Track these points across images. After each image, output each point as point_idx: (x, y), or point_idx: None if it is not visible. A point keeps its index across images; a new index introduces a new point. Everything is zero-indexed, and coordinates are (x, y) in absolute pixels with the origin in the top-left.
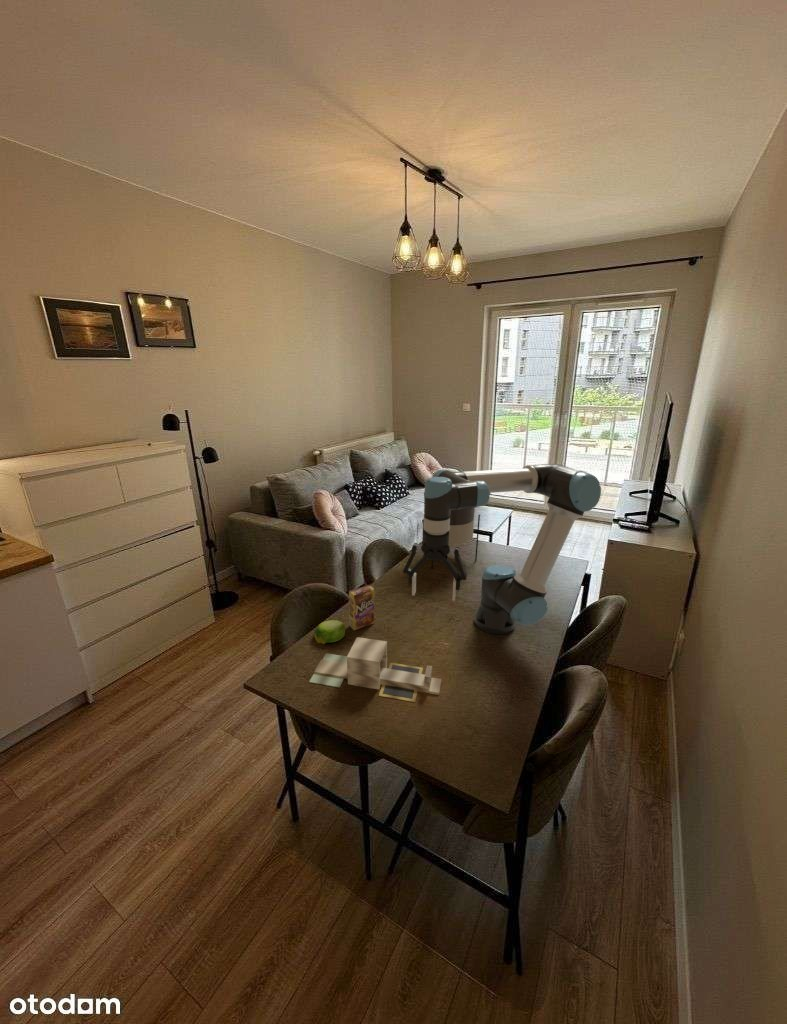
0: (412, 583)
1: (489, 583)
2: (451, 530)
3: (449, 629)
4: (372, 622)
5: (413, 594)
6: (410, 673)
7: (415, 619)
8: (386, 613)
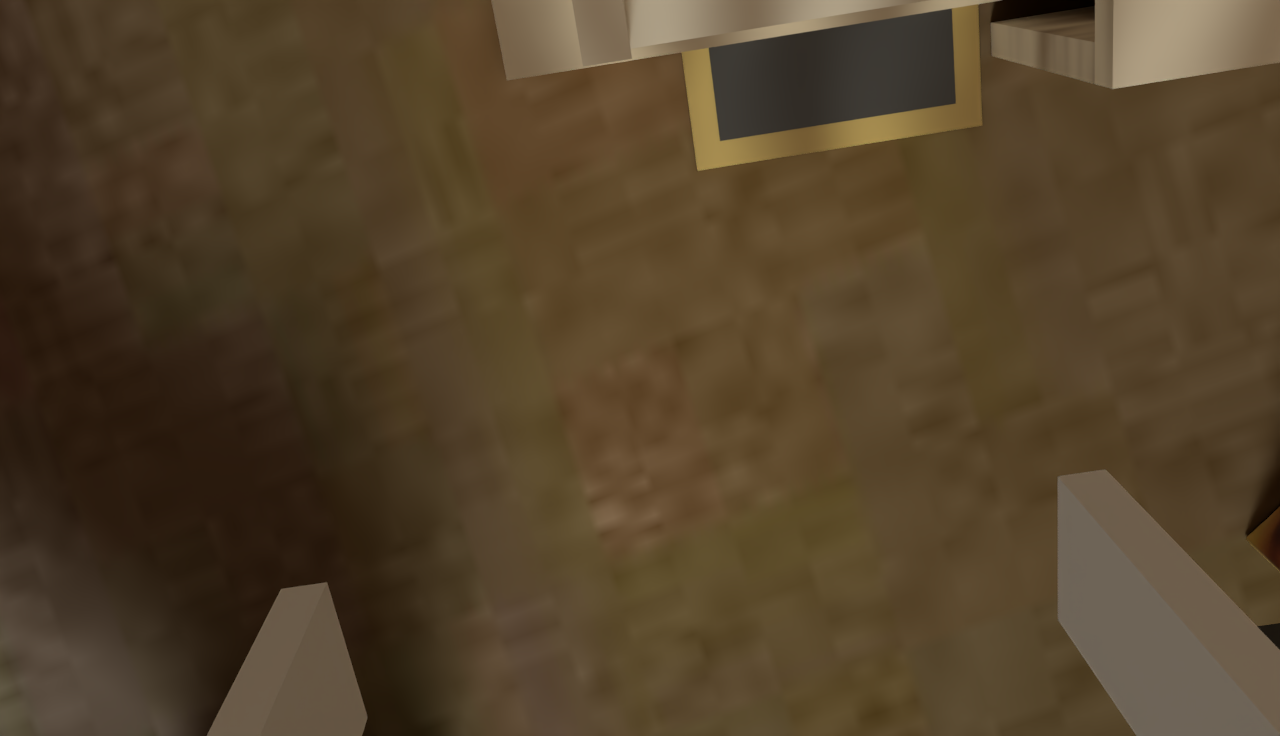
0: (1250, 631)
1: None
2: None
3: (631, 678)
4: (1264, 533)
5: (1085, 488)
6: (770, 9)
7: (922, 696)
8: None
